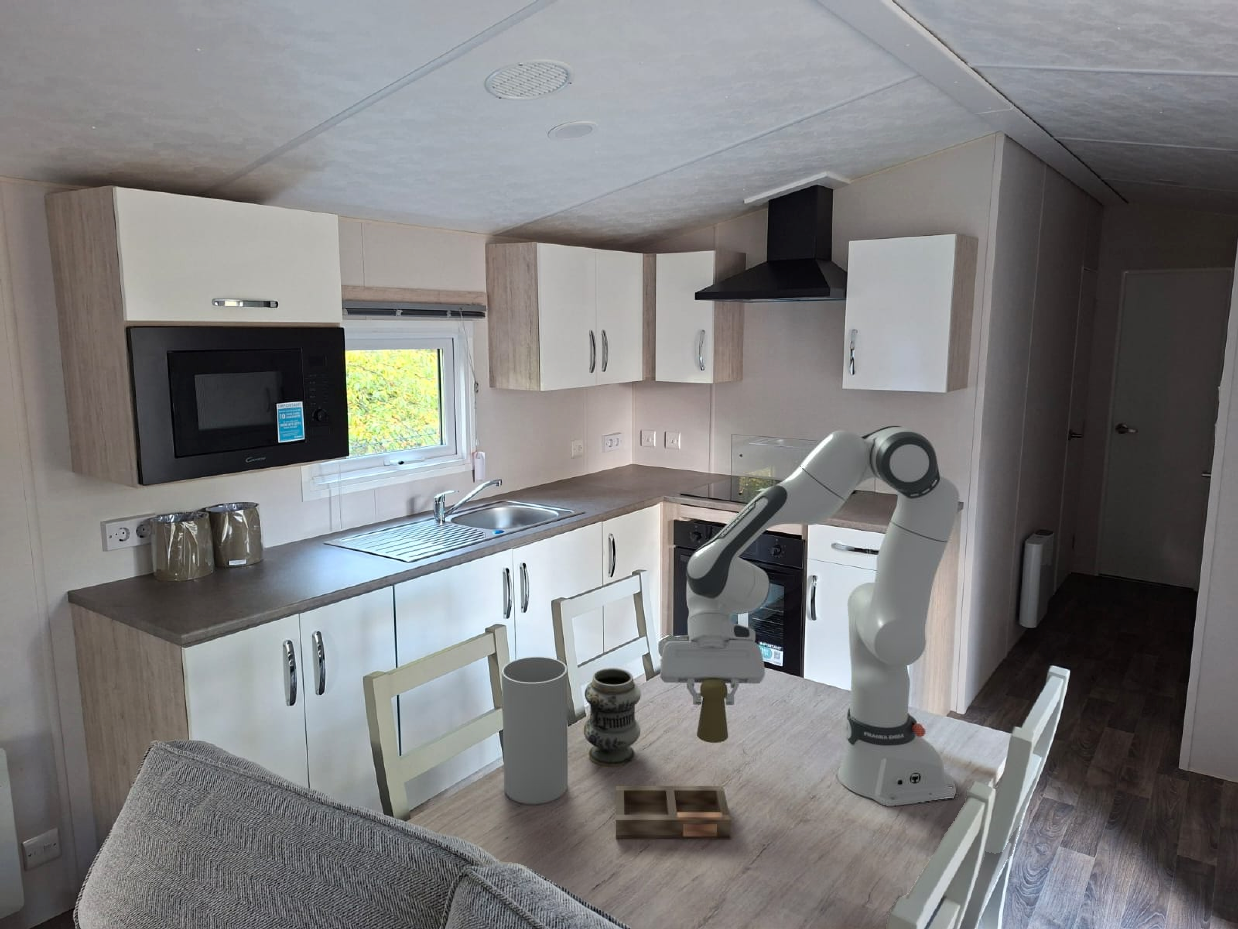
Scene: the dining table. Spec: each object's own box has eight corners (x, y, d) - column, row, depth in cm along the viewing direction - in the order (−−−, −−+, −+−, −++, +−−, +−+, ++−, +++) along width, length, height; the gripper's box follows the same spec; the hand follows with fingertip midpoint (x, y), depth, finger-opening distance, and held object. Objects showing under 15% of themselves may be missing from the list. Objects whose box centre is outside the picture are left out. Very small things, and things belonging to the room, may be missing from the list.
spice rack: (722, 804, 163) (723, 783, 162) (730, 840, 152) (731, 818, 151) (615, 804, 163) (615, 783, 162) (615, 840, 152) (616, 818, 151)
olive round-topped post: (726, 744, 160) (728, 689, 158) (694, 741, 161) (696, 686, 160) (729, 729, 166) (731, 676, 164) (698, 726, 167) (700, 673, 165)
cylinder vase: (493, 800, 164) (490, 678, 160) (519, 767, 176) (517, 653, 172) (554, 811, 161) (552, 687, 156) (576, 777, 172) (576, 661, 168)
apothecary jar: (617, 776, 173) (617, 693, 170) (572, 757, 180) (571, 677, 177) (651, 752, 182) (652, 673, 179) (607, 735, 190) (607, 659, 186)
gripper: (658, 629, 167) (659, 697, 159) (762, 630, 167) (769, 698, 159) (657, 641, 173) (658, 709, 165) (758, 642, 172) (764, 710, 164)
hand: (713, 704), depth 162 cm, fingers closed on olive round-topped post, 5 cm apart
